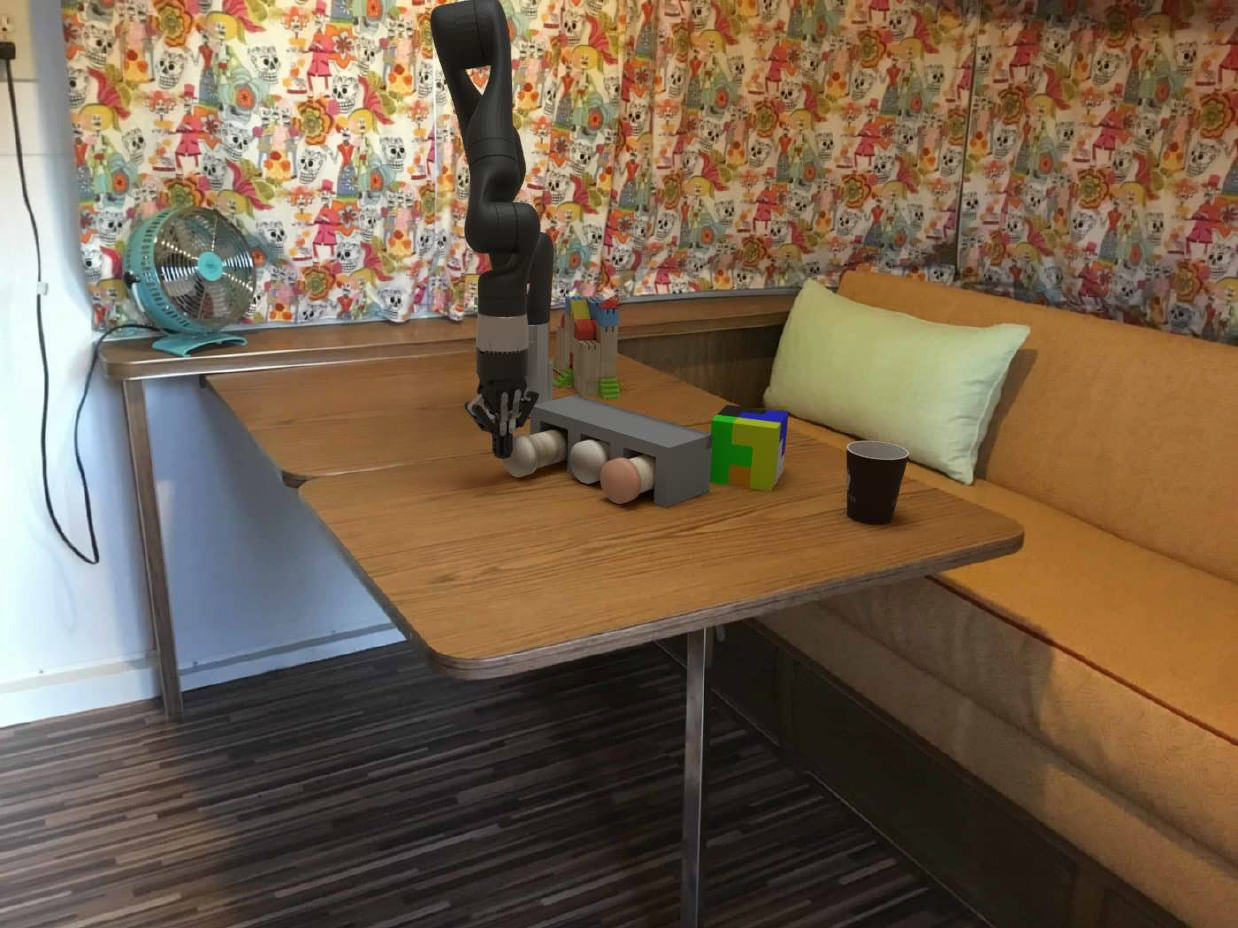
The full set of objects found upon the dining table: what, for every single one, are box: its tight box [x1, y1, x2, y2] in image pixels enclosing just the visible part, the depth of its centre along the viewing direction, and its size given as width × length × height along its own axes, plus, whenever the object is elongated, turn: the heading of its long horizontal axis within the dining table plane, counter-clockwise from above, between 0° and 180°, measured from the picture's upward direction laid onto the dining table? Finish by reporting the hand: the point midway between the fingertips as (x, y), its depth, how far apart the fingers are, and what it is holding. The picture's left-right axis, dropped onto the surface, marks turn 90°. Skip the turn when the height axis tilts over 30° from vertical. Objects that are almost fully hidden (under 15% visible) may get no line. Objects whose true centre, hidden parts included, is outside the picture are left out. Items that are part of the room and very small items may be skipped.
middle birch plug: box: [570, 440, 611, 485], centre depth 157 cm, size 10×6×6 cm, turn 137°
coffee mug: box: [845, 440, 910, 526], centre depth 146 cm, size 12×9×10 cm
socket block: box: [529, 395, 713, 508], centre depth 158 cm, size 10×29×9 cm, turn 47°
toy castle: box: [552, 295, 627, 400], centre depth 212 cm, size 28×14×19 cm, turn 18°
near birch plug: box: [501, 428, 568, 478], centre depth 159 cm, size 10×6×6 cm, turn 137°
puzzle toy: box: [710, 404, 790, 492], centre depth 160 cm, size 10×10×10 cm
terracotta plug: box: [600, 454, 656, 505], centre depth 150 cm, size 10×6×6 cm, turn 137°
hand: (502, 457), depth 154 cm, fingers closed
